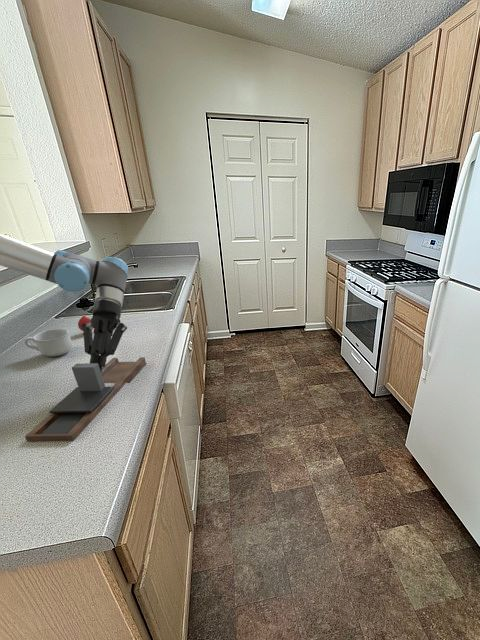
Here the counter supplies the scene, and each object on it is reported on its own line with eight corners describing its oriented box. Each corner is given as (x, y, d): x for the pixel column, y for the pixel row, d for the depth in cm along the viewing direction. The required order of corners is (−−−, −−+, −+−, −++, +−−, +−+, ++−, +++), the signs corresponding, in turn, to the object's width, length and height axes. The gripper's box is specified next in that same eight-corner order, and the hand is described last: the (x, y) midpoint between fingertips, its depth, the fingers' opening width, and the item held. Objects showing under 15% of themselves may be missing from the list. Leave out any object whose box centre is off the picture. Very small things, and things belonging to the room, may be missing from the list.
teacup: (79, 346, 130) (73, 327, 127) (67, 358, 121) (59, 338, 117) (40, 349, 128) (32, 330, 125) (24, 361, 119) (16, 341, 115)
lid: (77, 388, 96) (68, 363, 92) (114, 388, 96) (106, 363, 92) (49, 413, 85) (38, 385, 81) (91, 412, 85) (81, 385, 82)
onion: (80, 336, 140) (74, 318, 137) (81, 331, 145) (76, 314, 141) (95, 334, 142) (90, 316, 139) (97, 329, 147) (91, 312, 143)
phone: (68, 411, 89) (67, 408, 88) (91, 411, 89) (90, 408, 88) (40, 438, 79) (38, 435, 79) (65, 438, 79) (64, 435, 79)
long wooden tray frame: (114, 364, 116) (112, 357, 115) (146, 363, 116) (144, 357, 115) (28, 445, 79) (24, 436, 77) (75, 444, 79) (71, 435, 77)
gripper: (135, 309, 107) (124, 380, 99) (94, 310, 107) (80, 381, 99) (123, 298, 100) (110, 373, 92) (79, 298, 100) (63, 374, 92)
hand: (94, 377), depth 96 cm, fingers closed
